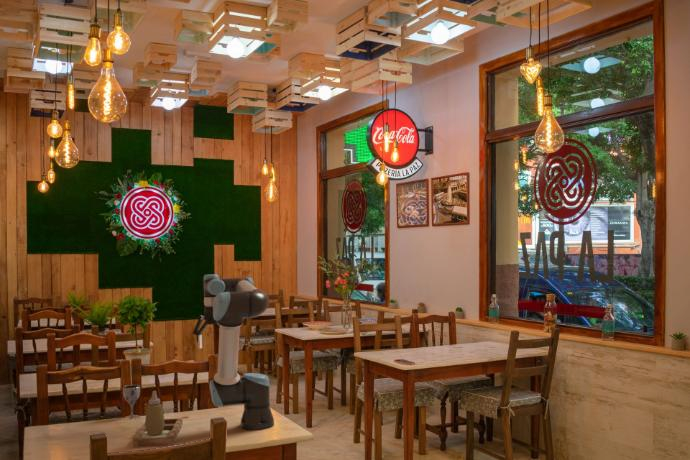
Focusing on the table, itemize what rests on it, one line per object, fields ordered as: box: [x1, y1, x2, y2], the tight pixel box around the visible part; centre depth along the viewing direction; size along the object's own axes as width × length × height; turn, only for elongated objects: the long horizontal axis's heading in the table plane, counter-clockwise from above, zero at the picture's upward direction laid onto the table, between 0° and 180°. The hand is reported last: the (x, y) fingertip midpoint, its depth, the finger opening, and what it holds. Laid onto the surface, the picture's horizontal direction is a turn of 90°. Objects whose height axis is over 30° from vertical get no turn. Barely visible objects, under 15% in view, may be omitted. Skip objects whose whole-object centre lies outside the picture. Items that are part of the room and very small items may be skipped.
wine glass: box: [122, 384, 141, 420], centre depth 319 cm, size 8×8×15 cm
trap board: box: [132, 417, 183, 448], centre depth 285 cm, size 32×16×3 cm, turn 7°
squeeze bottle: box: [144, 390, 165, 435], centre depth 275 cm, size 8×8×18 cm
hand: (213, 348), depth 323 cm, fingers open, 13 cm apart
